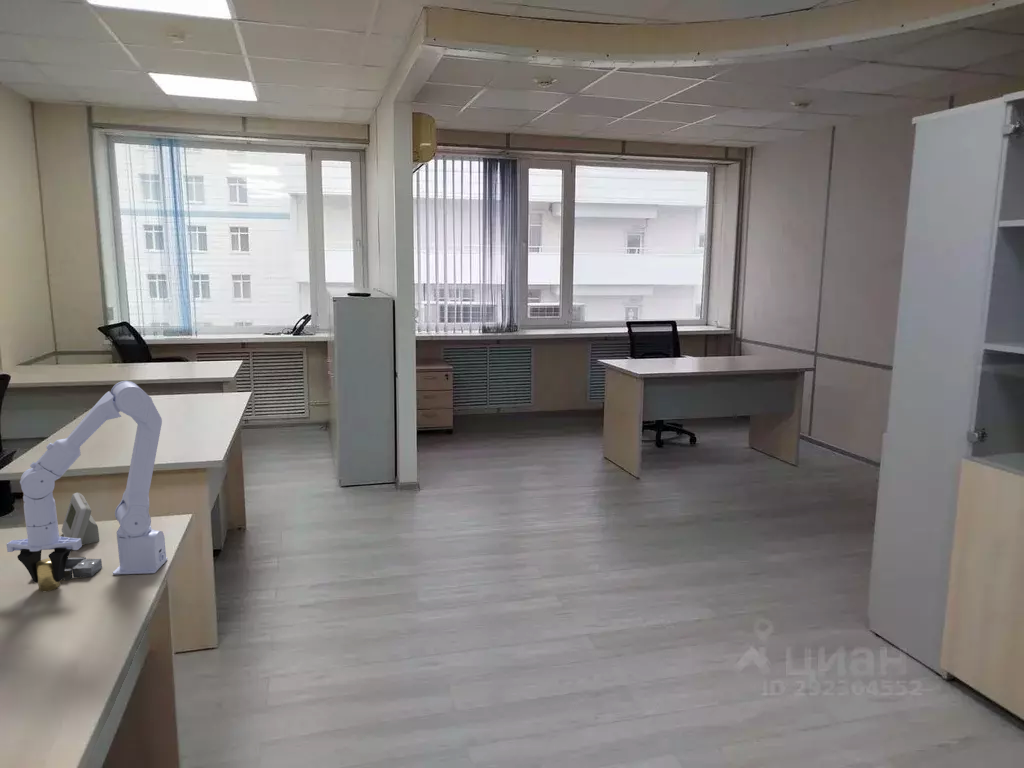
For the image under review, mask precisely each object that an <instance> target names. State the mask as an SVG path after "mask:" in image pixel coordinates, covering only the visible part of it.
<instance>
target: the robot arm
mask: <svg viewBox="0 0 1024 768" xmlns="http://www.w3.org/2000/svg"><path fill="white" fill-rule="evenodd" d="M120 412H122V413H123V414H125V415H126V416H129V417H130V418H132V420H133V421H134V422H135V424H137V426H136V432H135V437H134V443H133V447H132V454H131V459H130V463H129V470H128V475H127V481H126V487H125V489H124V491H123V494H122V497H121V501H120V502H119V503H118V505H117V506H116V508H115V510H114V517H115V519H116V520H117V522H118V523H119V527H118V529H117V530H116V540H117V551H118V560H119V562H118V563H119V566H117V568H115V570H113V571H112V575H137V574H139V575H141V574H156V573H157V572H158V570H159V569H160V568H161V567H162V566H163V564H165V563H166V562H167V561H168V557H167V552H166V539H165V538H166V537H165V534H164V532H163V531H162V530H158V529H157V530H156V529H153V528H152V526H151V525H152V518H151V516H150V512H149V510H150V489H151V484H152V478H153V474H154V473H153V472H154V467H155V462H156V457H157V453H158V452H157V451H158V450H157V449H158V445H159V441H160V440H159V439H160V435H161V430H162V429H161V428H162V424H163V418H162V417H161V415H160V413H159V410H158V409H157V407H156V405H155V403H154V401H153V399H152V397H151V396H149V394H148V393H147V392H146V391H145V390H143V389H142V388H141V387H140V386H139V385H138V384H137V383H135V382H134V381H130V380H122V381H119V382H117V383H115V384H114V385H113V387H112V388H111V390H109V391H107V392H105V394H104V395H102V396H101V398H100V399H99V400H98V401H97V402H96V403H95V405H93V407H92V408H91V409H90V410H89V411H88V412H87V413H86V415H85V416H84V417H83V418H82V420H81V421H80V422H79V423H78V424H77V425H76V426H75V428H74V429H73V430H72V431H71V432H70V433H69V435H68V436H67V437H66V438H61V439H60V438H59V439H56V440H55V441H54V442H53V443H52V442H49V443H48V444H47V445H46V447H45V448H46V451H45V452H44V453H43V454H42V455H41V456H40V457H39V458H38V459H37V460H36V461H35V462H34V461H33V462H32V463H30V465H29V466H30V468H28V469H26V470H24V472H23V473H22V474H21V477H20V480H19V484H20V487H21V491H22V493H23V496H22V500H23V512H24V519H25V520H24V521H25V526H26V527H25V528H26V535H27V538H21V539H11V540H10V541H9V542H7V543H6V550H7V553H13V552H17V551H20V552H19V554H18V555H17V560H18V561H20V562H21V563H22V565H23V566H24V567H25V568H26V570H27V571H28V573H29V575H30V577H31V580H32V582H33V583H38V579H37V571H36V563H37V562H38V561H41V560H42V551H46V550H47V551H49V550H53V551H52V552H50V553H49V554H48V558H50V560H51V563H52V566H53V570H54V578H55V581H56V582H59V581H60V582H61V581H63V580H62V579H63V578H64V571H65V569H66V568H65V566H66V562H67V559H68V558H70V554H71V552H72V551H78V550H79V549H81V548H82V546H83V545H82V543H81V538H68V537H64V536H60V533H59V524H58V517H57V516H58V515H57V507H56V506H57V505H56V500H55V498H54V493H53V491H54V489H55V485H56V483H55V482H56V481H57V480H59V479H61V478H62V476H64V474H65V473H66V472H67V471H68V470H69V469H70V468H71V467H72V466H73V464H74V463H75V462H76V461H77V460H78V459H79V457H80V456H81V446H83V444H85V443H86V442H87V440H89V439H90V437H91V436H93V435H94V434H95V433H96V431H98V430H99V429H100V428H101V427H102V425H103V424H104V423H105V422H106V421H108V420H109V421H110V420H113V419H118V418H121V417H122V415H121V414H120ZM72 549H73V550H72Z"/></svg>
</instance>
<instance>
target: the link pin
mask: <svg viewBox="0 0 1024 768" xmlns="http://www.w3.org/2000/svg"><path fill="white" fill-rule="evenodd" d="M36 571H37V579H38V582H37V585H38V587H37V588H38V591H39V592H43V591H46V592H51V591H55V590H56V589H59V588H60V587H61V580H60V581H59V582H56V581H55V578H54V570H53V566H52V563H51V560H50V558H49V557H48V558H44V559H41V561H38V562H37V563H36ZM58 587H59V588H58ZM54 589H55V590H54Z"/></svg>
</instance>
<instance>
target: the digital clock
mask: <svg viewBox="0 0 1024 768" xmlns="http://www.w3.org/2000/svg"><path fill="white" fill-rule="evenodd" d="M61 532H62V535H63V537H68V538H81V543H82V544H84V545H88V544H94V543H97V541H98V542H100V532H99V526H98V524H97V522H96V520H95V518H94V517H93V516H92V508H91V506H90V505H89V503H88V501H87V500H86V498H85V496H84V495H83V494H82V493H81V492H75V493H72V495H71V499H70V502H69V504H68V508H67V510H66V514H65V517H64V520H63V524H62V527H61ZM71 551H74V550H73V549H72V550H71Z"/></svg>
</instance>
